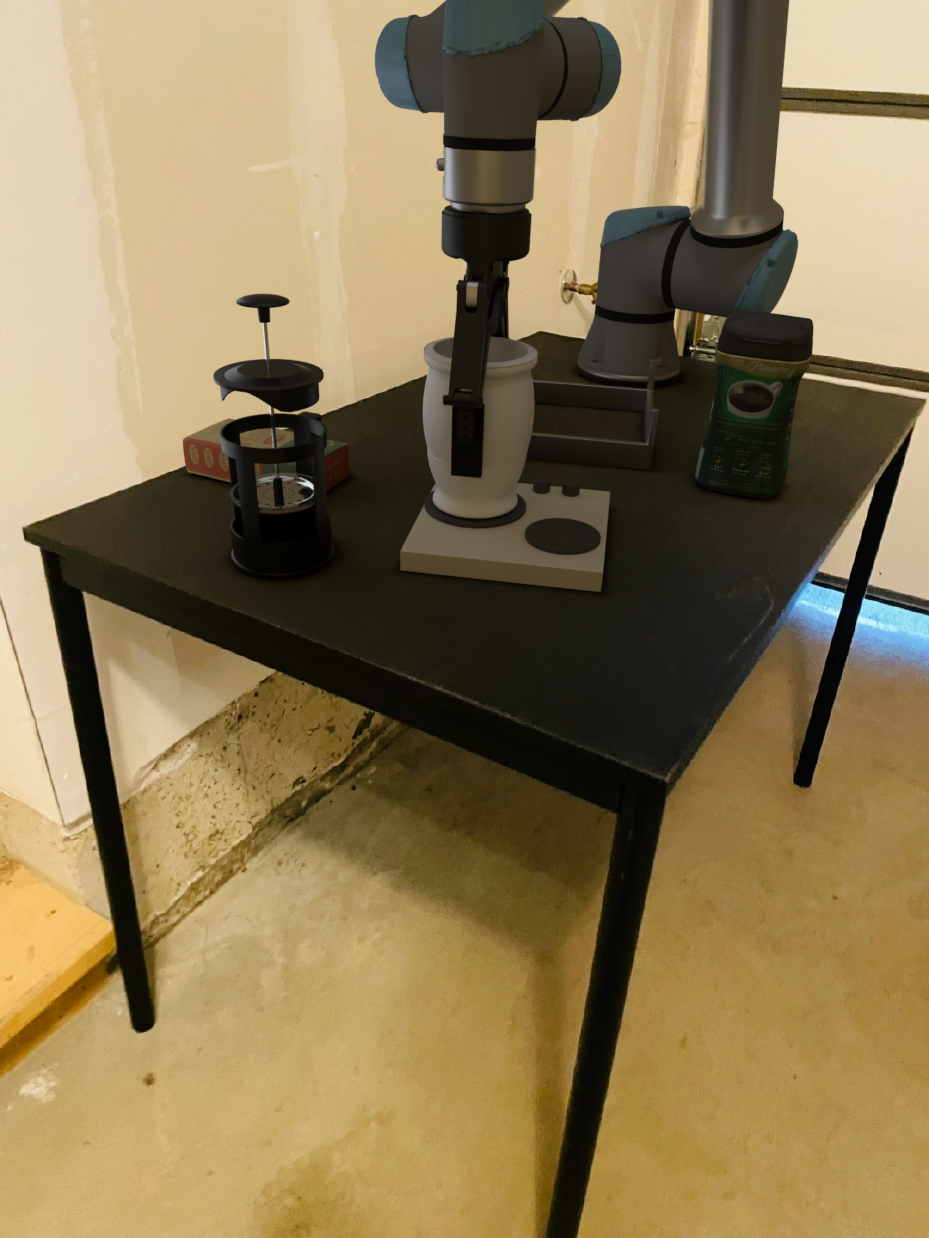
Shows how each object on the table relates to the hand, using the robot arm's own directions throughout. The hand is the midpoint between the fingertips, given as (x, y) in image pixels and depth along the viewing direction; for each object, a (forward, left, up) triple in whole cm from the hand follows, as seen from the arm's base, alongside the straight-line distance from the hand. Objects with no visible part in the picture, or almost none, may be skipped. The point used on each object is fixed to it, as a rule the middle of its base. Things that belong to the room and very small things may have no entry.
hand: (478, 448), depth 87 cm
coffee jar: (-17, +27, -8) cm, 33 cm away
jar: (0, 0, -6) cm, 6 cm away
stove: (+2, +4, -8) cm, 9 cm away
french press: (+10, -16, -8) cm, 21 cm away
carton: (-7, -24, -8) cm, 26 cm away
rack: (-30, +8, -8) cm, 32 cm away
